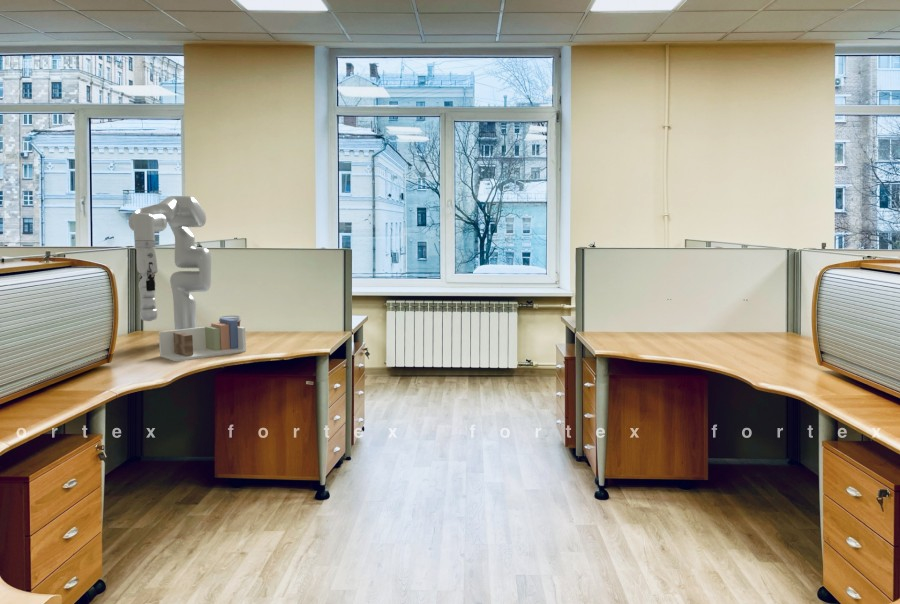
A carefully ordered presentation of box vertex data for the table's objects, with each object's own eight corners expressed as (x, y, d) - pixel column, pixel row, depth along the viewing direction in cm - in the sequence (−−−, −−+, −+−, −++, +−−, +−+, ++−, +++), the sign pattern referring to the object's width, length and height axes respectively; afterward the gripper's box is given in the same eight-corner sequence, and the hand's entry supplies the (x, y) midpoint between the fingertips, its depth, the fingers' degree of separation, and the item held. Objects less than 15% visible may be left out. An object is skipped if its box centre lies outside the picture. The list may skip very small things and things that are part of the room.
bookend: (174, 352, 289) (173, 332, 288) (181, 351, 291) (180, 332, 291) (185, 355, 282) (184, 336, 281) (193, 354, 284) (192, 335, 283)
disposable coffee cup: (235, 345, 312) (234, 318, 311) (215, 344, 314) (214, 318, 312) (245, 341, 321) (245, 315, 320) (226, 341, 323) (225, 315, 322)
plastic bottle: (151, 319, 290) (148, 270, 287) (161, 320, 286) (158, 271, 283) (136, 321, 284) (133, 271, 282) (146, 322, 281) (143, 272, 278)
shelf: (159, 356, 288) (158, 324, 286) (229, 347, 308) (227, 317, 307) (175, 361, 277) (173, 328, 275) (245, 351, 298) (244, 320, 296)
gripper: (162, 245, 278) (165, 290, 280) (146, 244, 290) (149, 287, 292) (143, 246, 272) (145, 292, 275) (127, 244, 285) (130, 289, 287)
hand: (147, 289), depth 283 cm, fingers closed on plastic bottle, 6 cm apart
